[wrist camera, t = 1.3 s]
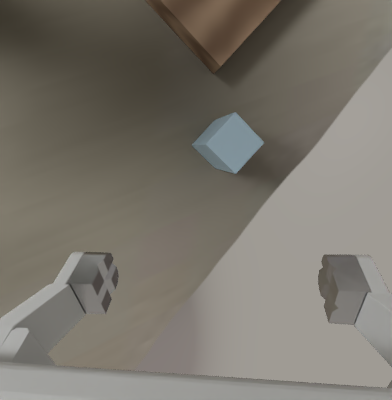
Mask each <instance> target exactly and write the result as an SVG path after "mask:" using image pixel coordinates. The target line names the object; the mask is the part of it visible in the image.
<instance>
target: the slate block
mask: <svg viewBox="0 0 392 400" xmlns="http://www.w3.org/2000/svg"><path fill="white" fill-rule="evenodd" d="M263 143H264V142H263V141H262V140H261V139H260V138H259V136H258V135H257V134H256V133H255V132H254V131H253V130H252V129H251V128H250V127H249V126H248V125H247V124H246V123H245V122H244V121H243V119H242V118H241V117H240V116H239V115H238V114H237V113H236V112H234V113H231V114H229V115H226V116H224V117H221V118H218V119H216V120H214V121H213V122H212V123H211V124H210V125H209V127H208V128H207V129H206V130H205V131H204V132H203V133H202V134H201V135H200V136H199V137H198V139H197V140H196V141H195V142H194V143H193V144H192V146H193V147H194V148H195V149H196V150H197V151H198V152H199V153H200V154H201V155H202V156H203V157H204V158H205V159H206V160H207V161H208V162H209V163H210V164H211V165H212V166H213V167H214V168H216V169H220V170H223V171H227V172H231V173H234V174H236V173H237V172H238V171H239V170H240V169H241V168H242V167H243V165H244V164H245V163H246V162H247V161H248V160H249V159H250V158H251V157H252V156H253V154H254V153H255V152H256V151H257V150H258V149H259V148H260V147H261V146H262V145H263Z"/></svg>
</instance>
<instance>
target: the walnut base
mask: <svg viewBox="0 0 392 400" xmlns="http://www.w3.org/2000/svg"><path fill="white" fill-rule="evenodd" d="M145 1H146V2H147V3H148V4H149V5H150V6H151V7H152V8H153V9H154V10H155V11H156V13H157V14H158V15H159V16H160V17H161V18H162V19H163V20H164V21H165V22H166V23H167V24H168V26H169V27H170V28H171V29H172V30H173V31H174V32H175V33H176V34H177V35H178V36H179V37H180V38H181V40H182V41H183V42H184V43H185V44H186V45H187V46H188V47H189V48H190V49H191V50H192V51H193V53H194V54H195V55H196V56H197V57H198V58H199V59H200V60H201V61H202V62H203V63H204V64H205V65H206V67H207V68H208V69H209V70H210V71H211V72H212V73H213V74H214V73H215V72H216V71H217V70H218V69H219V68H220V67H221V66H222V65H223V64H224V63H225V61H226V60H227V59H228V58H229V57H230V56H231V55H232V54H233V53H234V52H235V51H236V49H237V48H238V47H239V46H240V45H241V44H242V43H243V42H244V41H245V40H246V38H247V37H248V36H249V35H250V34H251V33H252V32H253V31H254V30H255V29H256V27H257V26H258V25H259V24H260V23H261V22H262V21H263V20H264V19H265V18H266V16H267V15H268V14H269V13H270V12H271V11H272V10H273V9H274V8H275V7H276V5H277V4H278V3H279V2H280V1H281V0H145Z"/></svg>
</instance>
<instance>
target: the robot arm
mask: <svg viewBox="0 0 392 400" xmlns="http://www.w3.org/2000/svg"><path fill="white" fill-rule="evenodd" d="M112 262H113V256H112V254H111V253H103V252H73V253H72V254H71V255H70V256H69V258H68V260H67V261H66V263H65V265H64V266H63V268H62V270H61V271H60V273H59V275H58V276H57V278H56V280H55V281H54V283H53V284H49V285H47V286H46V287H44V288H43V289H41V290H40V291H39V292H37V293H36V294H34V295H33V296H31V297H30V298H29V299H27V300H26V301H24V302H23V303H21V304H20V305H19V306H17V307H16V308H14V309H13V310H12V311H10V312H9V313H7V314H6V315H4V316H3V317H2V318H0V400H392V381H391V382H390V384H389V385H388V387H387V388H380V387H364V386H350V385H336V384H321V383H306V382H292V381H277V380H263V379H248V378H233V377H219V376H205V375H189V374H175V373H160V372H146V371H131V370H116V369H101V368H87V367H72V366H57V365H55V363H54V361H53V360H52V358H51V357H50V356H49V355H48V352H49V351H50V350H51V349H52V348H53V347H54V346H55V345H56V344H57V343H58V342H59V341H60V340H61V339H62V338H63V337H64V336H65V335H66V334H67V333H68V332H69V331H70V330H71V329H72V328H73V327H74V326H75V325H76V324H77V323H78V322H79V321H80V320H81V319H82V318H83V317H84V316H85V314H106V312H107V310H108V307H109V305H110V302H111V300H112V299H111V296H110V294H111V293H112V292H113V291H114V290H115V289H116V286H117V284H118V270H117V267H116V266H115V265H114V264H112ZM322 265H323V268H322V269H321V270H319V276H318V284H319V290H320V294H321V296H322V297H323V298H324V299H325V304H324V308H325V312H326V315H327V318H328V322H329V323H335V324H350V325H354V326H355V327H356V328H357V329H358V331H359V332H360V333H361V334H362V335H363V336H364V337H365V338H366V339H367V340H368V341H369V342H370V344H371V345H372V346H373V347H374V348H375V349H376V350H377V351H378V352H379V353H380V354H381V356H382V357H383V358H384V359H385V360H386V361H387V362H388V363H389V364H390V365H391V367H392V293H390V292H389V290H388V288H387V286H386V284H385V282H384V280H383V278H382V277H381V275H380V273H379V271H378V269H377V267H376V265H375V263H374V261H373V259H372V257H371V256H370V255H324V256H323V258H322Z"/></svg>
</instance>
